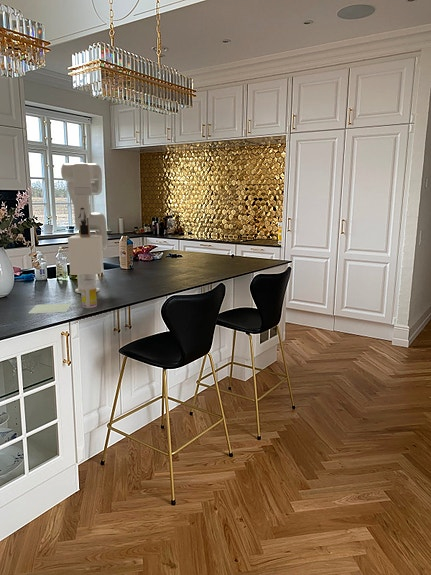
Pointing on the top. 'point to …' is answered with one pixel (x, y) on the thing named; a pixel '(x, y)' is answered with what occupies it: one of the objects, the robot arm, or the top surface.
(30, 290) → the top surface
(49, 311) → the mat
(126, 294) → the top surface
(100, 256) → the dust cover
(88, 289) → the supplement bottle
